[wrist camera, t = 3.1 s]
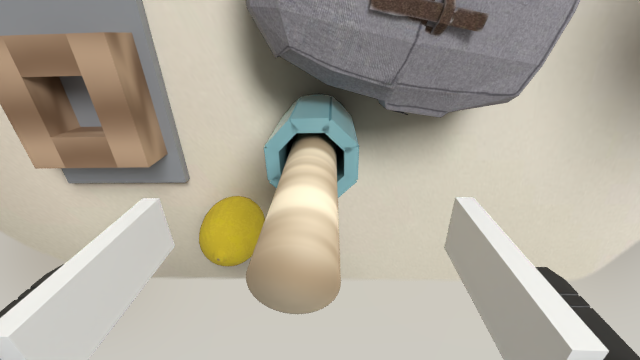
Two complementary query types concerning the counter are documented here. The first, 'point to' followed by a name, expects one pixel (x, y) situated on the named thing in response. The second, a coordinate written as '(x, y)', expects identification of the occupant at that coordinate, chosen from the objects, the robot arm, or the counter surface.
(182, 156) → the tray
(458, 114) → the counter surface
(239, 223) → the lemon
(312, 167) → the dowel
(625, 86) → the counter surface
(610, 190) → the counter surface
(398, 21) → the grey rounded bag
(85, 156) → the frame
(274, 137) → the cup
